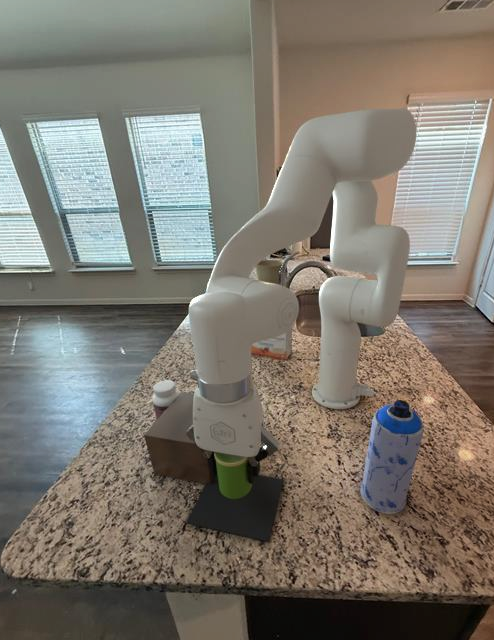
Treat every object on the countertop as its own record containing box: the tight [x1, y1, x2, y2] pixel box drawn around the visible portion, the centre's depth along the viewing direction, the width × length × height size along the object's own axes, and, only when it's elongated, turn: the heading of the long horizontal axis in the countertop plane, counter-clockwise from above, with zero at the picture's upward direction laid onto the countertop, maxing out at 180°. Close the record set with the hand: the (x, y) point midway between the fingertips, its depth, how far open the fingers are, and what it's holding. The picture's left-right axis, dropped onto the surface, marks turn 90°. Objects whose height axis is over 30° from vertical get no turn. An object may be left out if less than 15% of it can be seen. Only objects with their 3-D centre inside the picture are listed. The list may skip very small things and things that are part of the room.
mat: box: [185, 474, 284, 543], centre depth 55 cm, size 14×12×1 cm
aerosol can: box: [359, 399, 425, 515], centre depth 51 cm, size 8×8×20 cm
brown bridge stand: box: [143, 391, 213, 485], centre depth 63 cm, size 12×14×10 cm
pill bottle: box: [151, 379, 181, 420], centre depth 71 cm, size 6×6×11 cm
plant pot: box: [254, 259, 284, 285], centre depth 163 cm, size 15×15×16 cm
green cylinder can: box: [214, 452, 252, 499], centre depth 51 cm, size 6×6×8 cm
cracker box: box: [251, 326, 293, 361], centre depth 101 cm, size 14×6×21 cm, turn 68°
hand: (234, 472), depth 52 cm, fingers closed on green cylinder can, 5 cm apart
